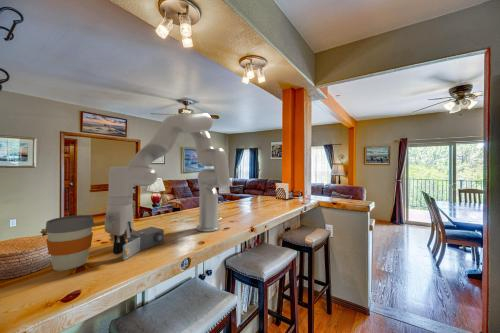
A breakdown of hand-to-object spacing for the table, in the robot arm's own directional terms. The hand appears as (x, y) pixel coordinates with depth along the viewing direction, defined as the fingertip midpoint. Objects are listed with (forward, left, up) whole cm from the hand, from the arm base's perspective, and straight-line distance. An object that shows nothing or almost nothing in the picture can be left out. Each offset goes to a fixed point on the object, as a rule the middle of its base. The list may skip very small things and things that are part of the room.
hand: (118, 252), depth 77 cm
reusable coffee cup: (+10, -10, -2) cm, 14 cm away
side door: (-4, +2, -2) cm, 5 cm away
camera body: (-14, -4, -2) cm, 14 cm away
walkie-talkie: (-15, -19, -3) cm, 25 cm away
